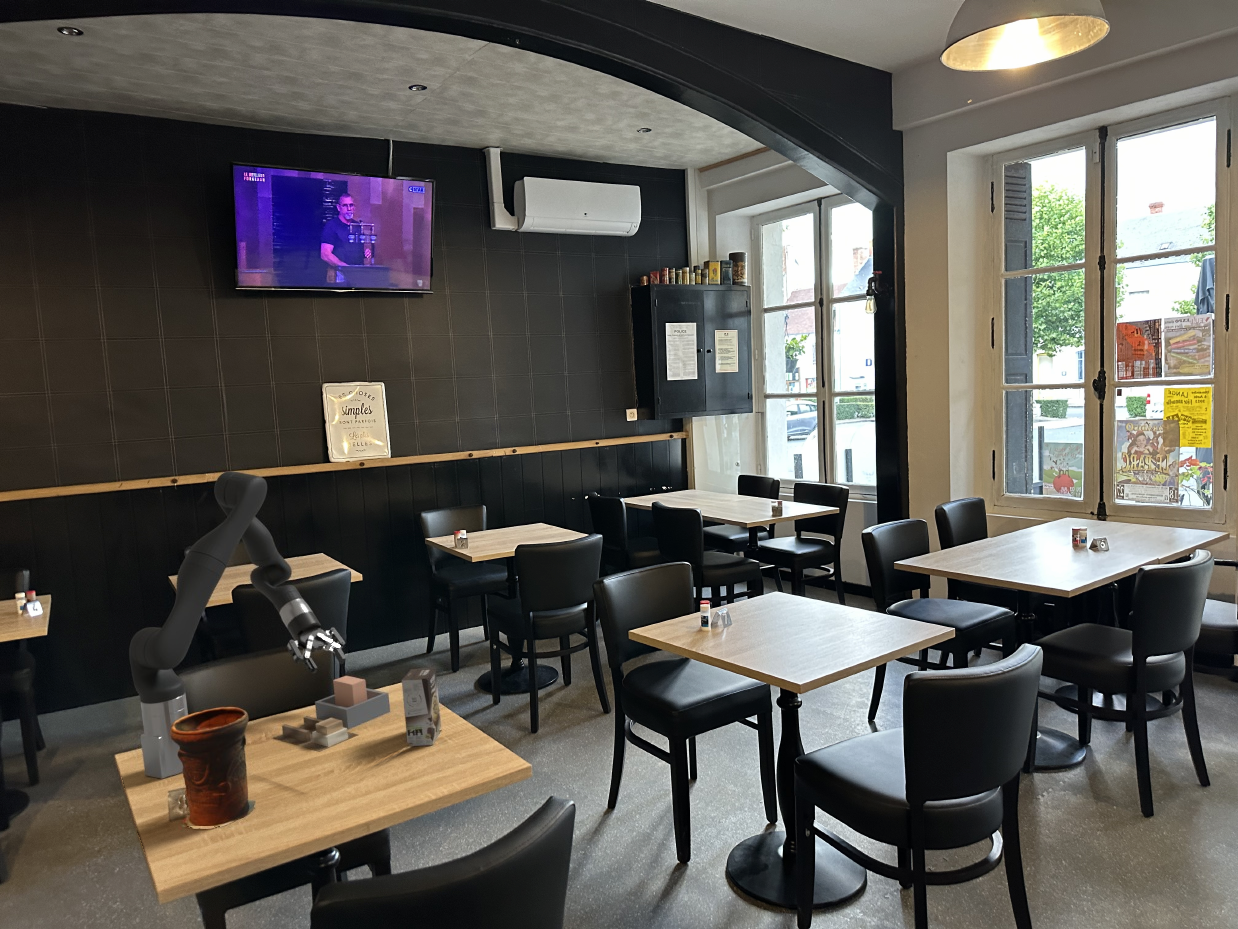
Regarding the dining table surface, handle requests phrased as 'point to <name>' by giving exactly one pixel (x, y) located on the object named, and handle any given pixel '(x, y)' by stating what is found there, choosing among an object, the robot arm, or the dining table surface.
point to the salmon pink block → (349, 691)
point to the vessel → (214, 765)
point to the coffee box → (421, 706)
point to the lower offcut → (330, 737)
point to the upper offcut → (329, 726)
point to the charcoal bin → (354, 709)
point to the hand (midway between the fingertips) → (329, 666)
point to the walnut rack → (305, 734)
